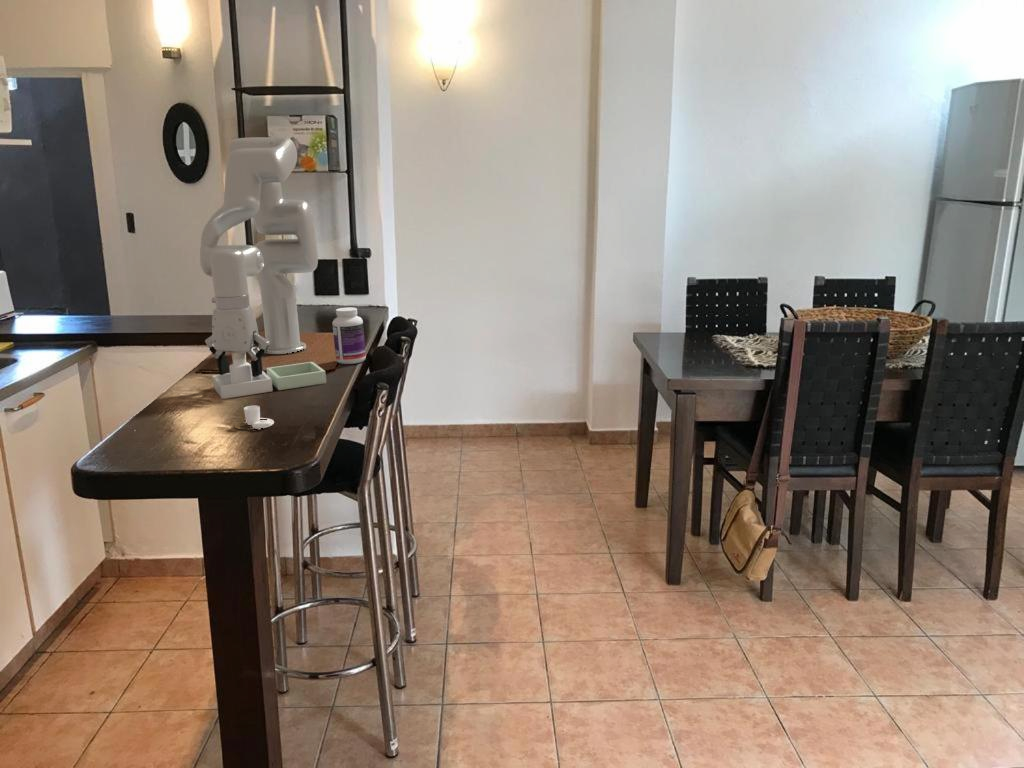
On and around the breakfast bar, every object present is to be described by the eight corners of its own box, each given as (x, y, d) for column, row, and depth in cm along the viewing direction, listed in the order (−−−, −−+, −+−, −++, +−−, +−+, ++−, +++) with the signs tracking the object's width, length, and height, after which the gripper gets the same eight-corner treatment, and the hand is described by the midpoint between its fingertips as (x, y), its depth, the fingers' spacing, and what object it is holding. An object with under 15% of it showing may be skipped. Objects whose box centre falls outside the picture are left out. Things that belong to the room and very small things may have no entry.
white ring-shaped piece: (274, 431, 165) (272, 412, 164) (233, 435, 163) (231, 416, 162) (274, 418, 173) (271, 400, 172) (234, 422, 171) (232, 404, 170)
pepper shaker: (254, 389, 195) (250, 350, 192) (239, 392, 192) (234, 353, 189) (246, 386, 197) (242, 348, 195) (231, 389, 195) (226, 351, 192)
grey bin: (213, 387, 197) (212, 375, 196) (262, 380, 202) (260, 368, 201) (222, 398, 187) (220, 386, 186) (272, 391, 192) (271, 379, 192)
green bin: (267, 379, 203) (266, 367, 202) (313, 372, 208) (312, 361, 207) (278, 390, 193) (277, 378, 192) (326, 383, 198) (325, 371, 198)
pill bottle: (372, 359, 221) (368, 307, 217) (354, 366, 214) (350, 312, 210) (347, 357, 224) (343, 305, 220) (329, 363, 217) (325, 310, 213)
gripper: (190, 304, 188) (200, 376, 193) (255, 306, 183) (264, 380, 188) (210, 299, 195) (219, 369, 200) (274, 301, 190) (281, 372, 195)
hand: (241, 374), depth 194 cm, fingers open, 8 cm apart
